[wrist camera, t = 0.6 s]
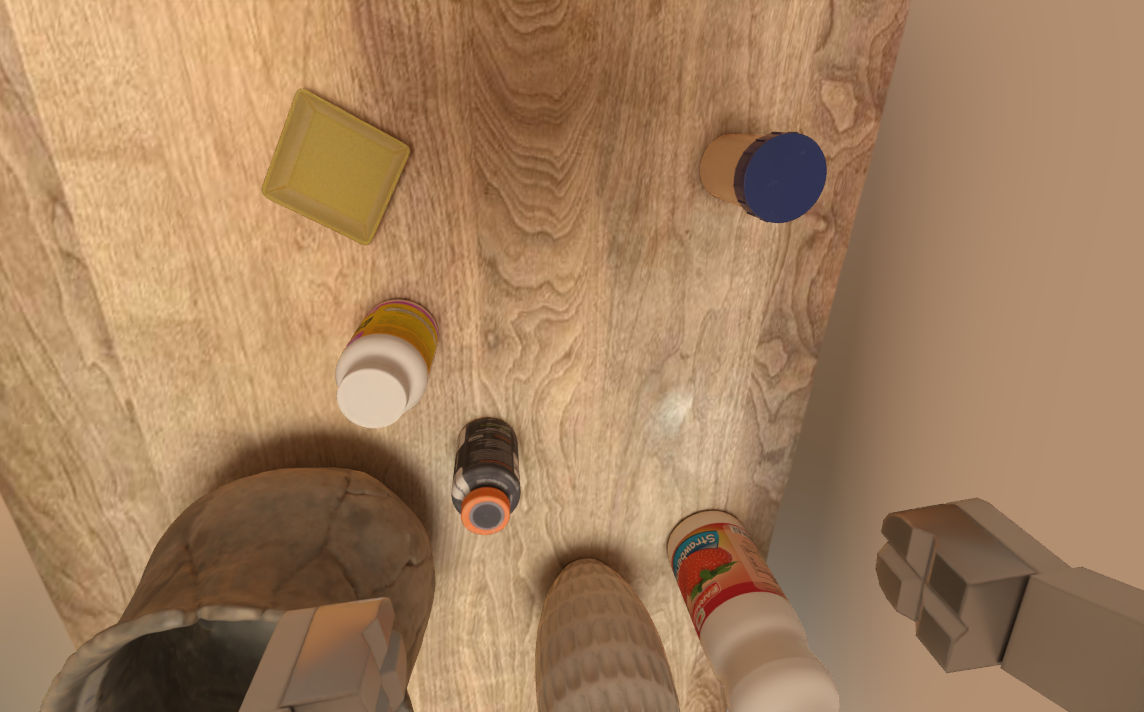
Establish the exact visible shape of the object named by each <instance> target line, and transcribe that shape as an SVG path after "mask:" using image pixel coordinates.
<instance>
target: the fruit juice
mask: <svg viewBox="0 0 1144 712" xmlns="http://www.w3.org/2000/svg"><path fill="white" fill-rule="evenodd" d="M667 552H668V558H669V562H670V565H671V567H672V570H673V573H674V575H675V578H676V580H677V583H678V586H679V588H680V591H681V593H682V596H683V599H684V601H685V604H686V606H687V609H688V611H689V614H690V617H691V619H692V622H693V624H694V627H695V630H696V632H697V635H698V637H699V640H700V643H701V646H702V649H703V651H704V653H705V656H706V658H707V660H708V662H709V664H710V666H711V668H712V670H713V672H714V673H715V675H716V676H717V678H718V679H719V680H720V681H721V682H722V683H723V684H724V686H725V693H726V701H727V706H728V710H729V712H840V701H839V695H838V691H837V688H836V685H835V683H834V681H833V679H832V677H831V675H830V673H829V671H828V670H827V669H826V667H825V666H824V665H823V663H822V662H821V661H820V660H819V659H818V658H817V657H816V656H815V655H814V654H813V653H812V652H811V651H810V650H809V648H808V641H807V636H806V633H805V631H804V628H803V626H802V624H801V623H800V620H799V618H798V616H797V614H796V613H795V611H794V609H793V607H792V606H791V604H790V603H789V601H788V600H787V598H786V596H785V595H784V593H783V591H782V590H781V588H780V587H779V585H778V583H777V581H776V579H775V578H774V576H773V574H772V573H771V571H770V569H769V568H768V566H767V564H766V563H765V561H764V559H763V558H762V556H761V554H760V553H759V551H758V549H757V548H756V546H755V544H754V543H753V541H752V539H751V538H750V536H749V534H748V533H747V531H746V529H745V528H744V527H743V525H742V524H741V523H740V522H739V521H738V520H737V519H736V518H735V517H733V516H732V515H730V514H727V513H725V512H721V511H705V512H700V513H697V514H694V515H692V516H690V517H688V518H687V519H685V520H684V521H682V522H681V523H680V524H679V525H678V526H677V527H676V528H675V529H674V531H673V532H672V534H671V536H670V538H669V541H668V548H667Z"/></svg>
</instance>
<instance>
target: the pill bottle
mask: <svg viewBox="0 0 1144 712" xmlns="http://www.w3.org/2000/svg"><path fill="white" fill-rule="evenodd" d="M519 499H520V475H519V460H518V443H517V438H516V435H515V433H514V431H513V430H512V429H511V427H510V426H509V425H507V424H506V423H504V422H502V421H500V420H497V419H492V418H485V419H479V420H476V421H473V422H471V423H470V424H468V425H467V426H466V427H465V428H464V429H463V430H462V431H461V433H460V435H459V437H458V442H457V450H456V458H455V467H454V476H453V485H452V501H453V504H454V506H455V508H456V509H457V511H458V512H459V513H460V514H461V519H462V522H463V524H464V526H465V527H466V528H467V529H468V530H469V531H471V532H473V533H476V534H480V535H489V534H494V533H496V532H498V531H500V530H502V529H503V528H504V527H505V526H506V525H507V523H508V521H509V518H510V514H511V513H512V512H513V511H514V509H515V508H516V507H517V505H518V502H519Z"/></svg>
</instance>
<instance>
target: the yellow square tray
mask: <svg viewBox="0 0 1144 712" xmlns="http://www.w3.org/2000/svg"><path fill="white" fill-rule="evenodd" d="M409 154H410V148H409V147H408V146H407V145H406V144H404V143H403V142H401V141H399V140H397V139H395V138H394V137H392V136H390V135H388V134H386V133H384V132H382V131H381V130H379V129H377V128H375V127H373V126H371V125H369V124H368V123H366V122H364V121H362V120H360V119H358V118H356V117H355V116H353V115H351V114H349V113H347V112H346V111H344V110H342V109H340V108H338V107H336V106H335V105H333V104H331V103H329V102H327V101H326V100H324V99H322V98H320V97H318V96H317V95H315V94H313V93H311V92H310V91H308V90H306V89H299V90H298V91H297V92H296V94H295V96H294V99H293V102H292V105H291V108H290V111H289V113H288V116H287V119H286V122H285V125H284V128H283V131H282V133H281V136H280V139H279V142H278V145H277V147H276V150H275V153H274V155H273V158H272V161H271V164H270V167H269V169H268V172H267V175H266V177H265V180H264V183H263V185H262V193H263V195H264V196H265V197H266V198H268V199H270V200H271V201H273V202H275V203H277V204H280V205H282V206H284V207H286V208H288V209H290V210H292V211H295V212H297V213H299V214H301V215H303V216H305V217H307V218H309V219H311V220H313V221H315V222H318V223H320V224H321V225H323V226H325V227H328V228H330V229H332V230H334V231H336V232H338V233H340V234H342V235H344V236H346V237H348V238H350V239H352V240H354V241H356V242H358V243H360V244H362V245H369V244H370V243H371V242H372V240H373V238H374V235H375V233H376V231H377V228H378V226H379V224H380V221H381V219H382V217H383V214H384V212H385V209H386V207H387V205H388V203H389V200H390V198H391V196H392V193H393V191H394V189H395V187H396V184H397V182H398V180H399V177H400V175H401V173H402V170H403V168H404V166H405V163H406V161H407V159H408V157H409Z"/></svg>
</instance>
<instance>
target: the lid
mask: <svg viewBox="0 0 1144 712" xmlns="http://www.w3.org/2000/svg"><path fill="white" fill-rule="evenodd" d="M826 174H827V167H826V161H825V157H824V154H823V152H822V150H821V148H820V147H819V146H818V144H817V143H816V142H815V141H814V140H812V139H811V138H809V137H808V136H805V135H803V134H799V133H798V132H771V133H770V134H767V135H764V136H762V137H760V138H757V139H756V141H754V142H753V143H752V144H751V145H749V147H748V148H747V149H746V150H745V151H743V154H742V156H741V157H740V159H739V161H738V163H737V166H736V168H735V174H734V185H733V187H734V191H735V195H736V198H737V202H738V203H739V204H740V205H741V207H742V208H743V209H744V210H745V211H746V213H747V214H749V215H752V216H755V217H757V218H760V220H763V221H765V222H772V223H784V222H789V221H792V220H794V219H796V218H798V217H800V216H802V215H803V214H805V213H806V212H807V211H808V210H809V209H810V208H811V207H812V206H813V205H814V204H815V203H816V201H817V200H818V198H819V196H820V195H821V192H822V190H823V188H824V185H825V181H826Z"/></svg>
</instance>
